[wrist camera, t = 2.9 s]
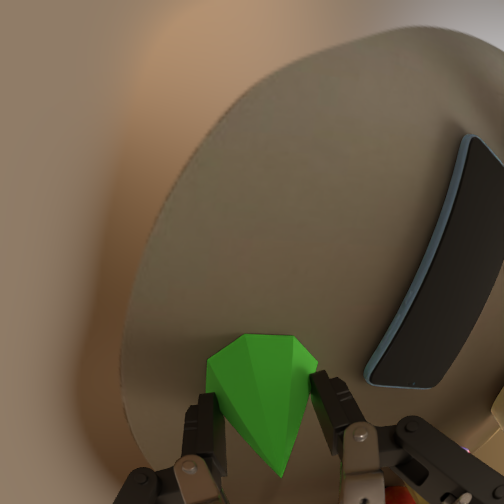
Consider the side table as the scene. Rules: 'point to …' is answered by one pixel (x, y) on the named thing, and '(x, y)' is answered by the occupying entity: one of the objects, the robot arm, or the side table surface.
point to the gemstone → (263, 391)
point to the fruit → (398, 495)
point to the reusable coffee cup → (499, 409)
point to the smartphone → (448, 277)
